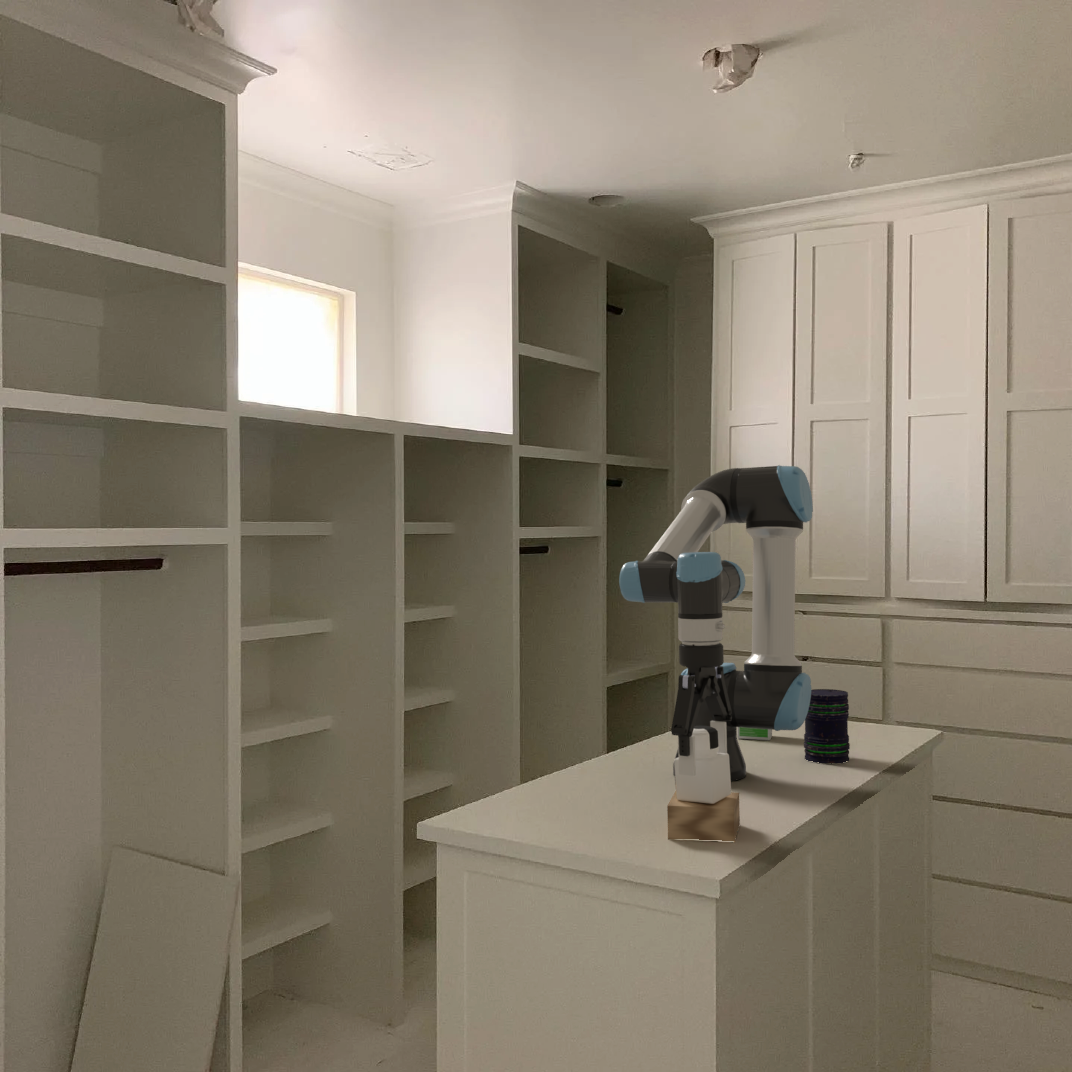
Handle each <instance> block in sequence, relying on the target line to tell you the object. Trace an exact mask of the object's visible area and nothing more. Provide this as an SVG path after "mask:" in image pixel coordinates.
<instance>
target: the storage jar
mask: <svg viewBox="0 0 1072 1072" xmlns="http://www.w3.org/2000/svg"><path fill="white" fill-rule="evenodd" d="M848 697H849V692H848V691H845V690H841V689H829V688H818V689H817V688H815V689H811V699H810V705H809V709H808V713H807V716H806V719H805V721H804V732H805V733H804V734H803V738H804V739H803V740H804V742H803V748H804V754H805V755H804V760H805V759H806V760H808V761H807V762H809V761H813V762H819V763H818V764H820V763H831V764H830V765H833V764H832V763H841V764H844V763H843V762H846V761H848V762H850V756H849V755H850V751H849V750H850V745H851V744H850V736H849V729H848V728H849V727H848V725H849V724H848V723H849V722H848V720H849V715H850V714H849V710H850V706H849V698H848ZM806 760H805V761H806ZM813 762H812V763H813ZM846 763H847V762H846Z"/></svg>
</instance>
